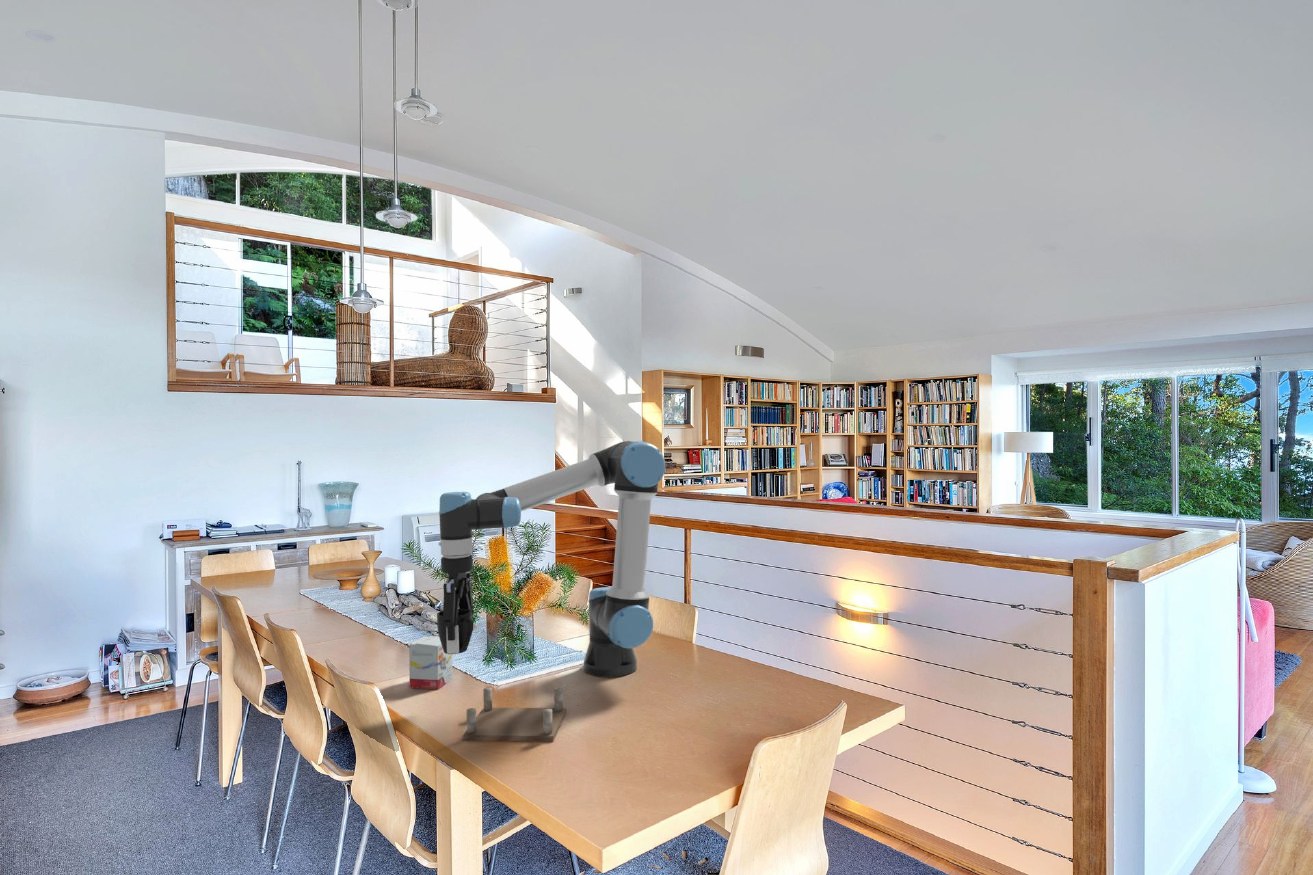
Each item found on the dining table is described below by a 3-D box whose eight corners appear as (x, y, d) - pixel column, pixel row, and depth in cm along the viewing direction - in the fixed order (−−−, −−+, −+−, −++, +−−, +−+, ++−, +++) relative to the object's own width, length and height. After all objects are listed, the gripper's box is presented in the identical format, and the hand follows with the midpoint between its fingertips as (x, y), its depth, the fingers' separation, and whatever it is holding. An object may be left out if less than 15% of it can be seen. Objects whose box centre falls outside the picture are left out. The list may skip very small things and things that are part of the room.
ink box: (438, 690, 193) (437, 645, 193) (408, 688, 195) (407, 643, 195) (453, 679, 202) (453, 635, 202) (424, 677, 204) (424, 634, 203)
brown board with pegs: (566, 713, 176) (565, 687, 176) (553, 741, 161) (553, 712, 160) (483, 712, 177) (483, 686, 177) (462, 740, 161) (462, 712, 161)
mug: (455, 661, 173) (454, 621, 173) (432, 651, 182) (431, 612, 181) (486, 653, 178) (485, 614, 178) (462, 643, 187) (461, 606, 187)
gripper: (455, 548, 191) (458, 634, 192) (425, 563, 170) (428, 661, 170) (484, 547, 191) (486, 633, 191) (457, 563, 169) (460, 660, 170)
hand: (459, 646), depth 181 cm, fingers closed on mug, 9 cm apart
